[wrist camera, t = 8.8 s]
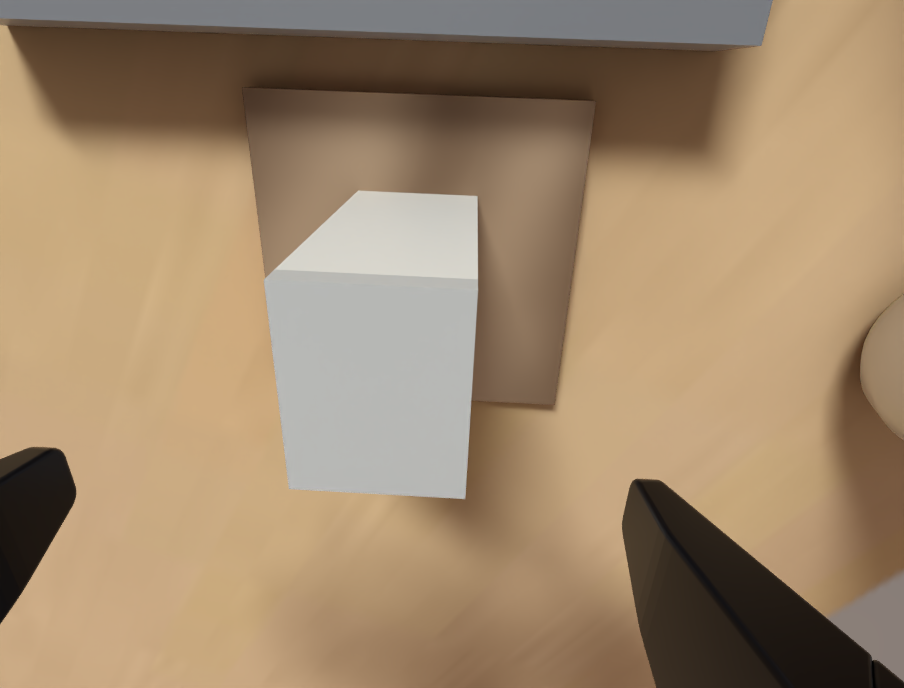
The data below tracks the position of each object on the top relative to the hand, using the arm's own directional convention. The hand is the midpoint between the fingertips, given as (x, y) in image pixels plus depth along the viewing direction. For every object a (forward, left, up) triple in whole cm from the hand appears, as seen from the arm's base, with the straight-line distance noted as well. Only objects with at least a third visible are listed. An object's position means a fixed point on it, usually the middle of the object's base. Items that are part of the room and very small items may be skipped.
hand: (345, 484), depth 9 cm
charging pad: (0, 0, -12) cm, 12 cm away
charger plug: (0, 0, -12) cm, 12 cm away
